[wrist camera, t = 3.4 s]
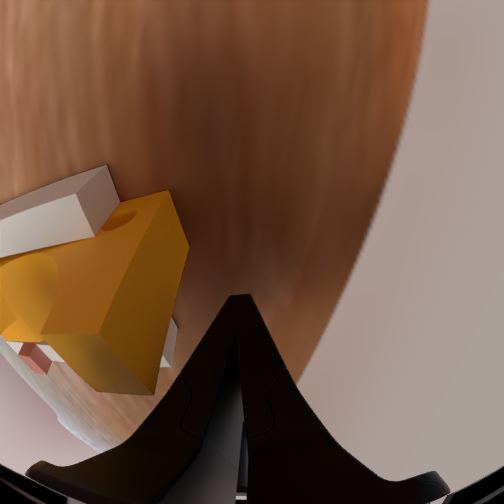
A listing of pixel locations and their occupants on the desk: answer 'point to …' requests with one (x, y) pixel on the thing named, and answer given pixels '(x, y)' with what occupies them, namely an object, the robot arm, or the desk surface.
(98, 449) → the desk surface
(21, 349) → the guide channel
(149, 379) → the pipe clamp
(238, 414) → the robot arm
